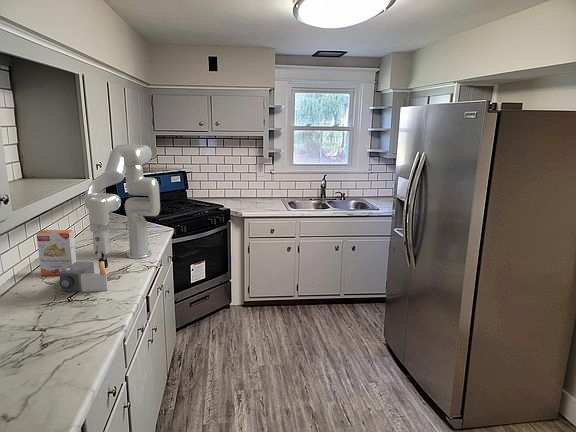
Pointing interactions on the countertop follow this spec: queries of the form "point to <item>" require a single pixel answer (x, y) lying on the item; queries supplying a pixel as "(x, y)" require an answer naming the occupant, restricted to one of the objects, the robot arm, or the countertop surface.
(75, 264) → the block
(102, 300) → the countertop surface
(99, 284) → the grey blade tan handle
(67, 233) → the cracker box
